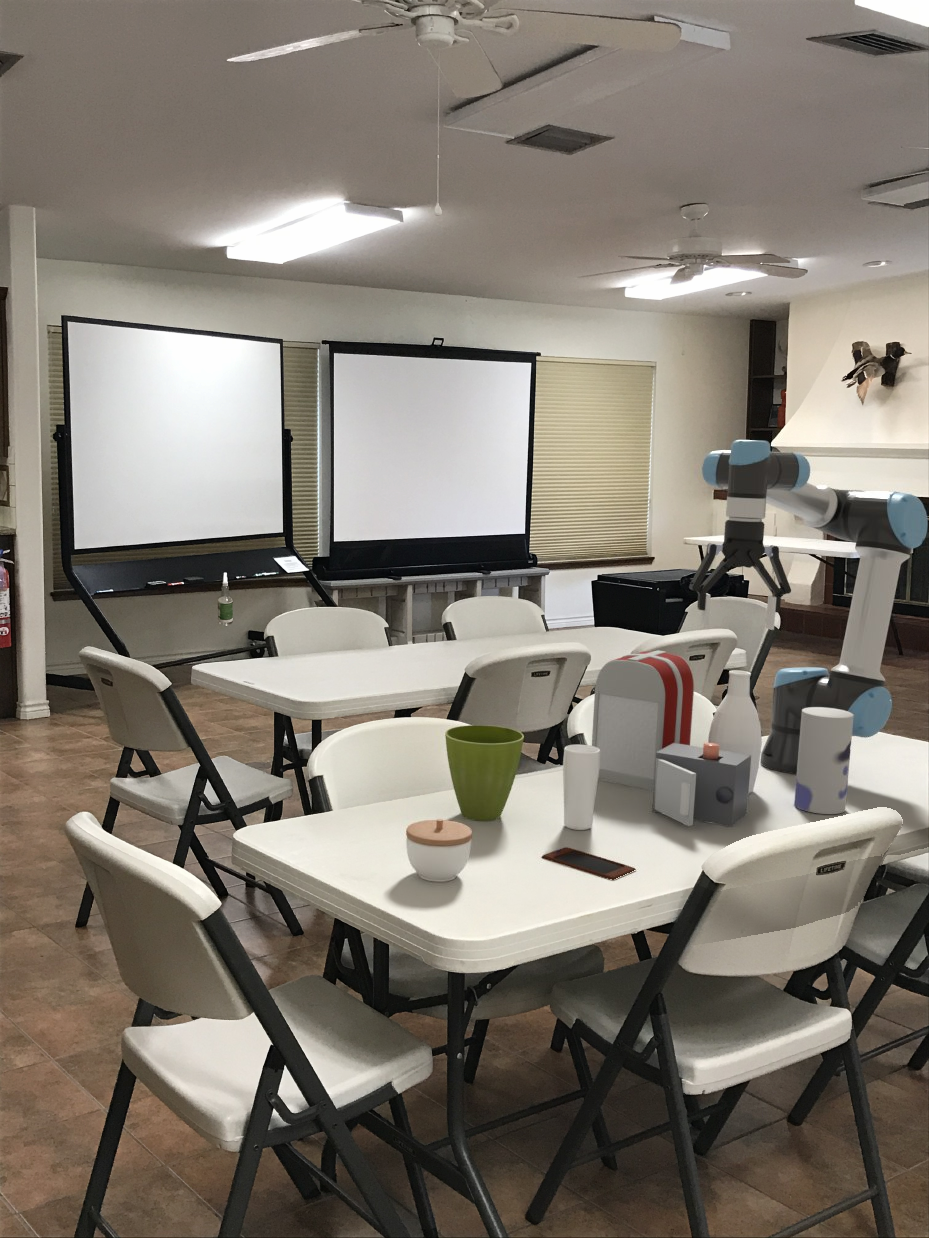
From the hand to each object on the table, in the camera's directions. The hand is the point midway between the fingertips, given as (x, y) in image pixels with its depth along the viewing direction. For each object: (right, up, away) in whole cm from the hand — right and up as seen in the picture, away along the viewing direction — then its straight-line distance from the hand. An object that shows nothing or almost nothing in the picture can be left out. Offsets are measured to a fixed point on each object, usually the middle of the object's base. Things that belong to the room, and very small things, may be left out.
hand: (737, 627), depth 236 cm
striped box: (-16, -33, +25) cm, 44 cm away
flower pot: (-51, -36, -9) cm, 63 cm away
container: (+18, -37, +7) cm, 42 cm away
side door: (-15, -36, -8) cm, 40 cm away
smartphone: (-33, -41, -33) cm, 62 cm away
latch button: (-6, -25, -5) cm, 26 cm away
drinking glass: (-33, -37, -13) cm, 51 cm away
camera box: (-8, -37, -1) cm, 37 cm away
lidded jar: (-58, -40, -42) cm, 82 cm away
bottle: (+3, -35, +17) cm, 39 cm away
